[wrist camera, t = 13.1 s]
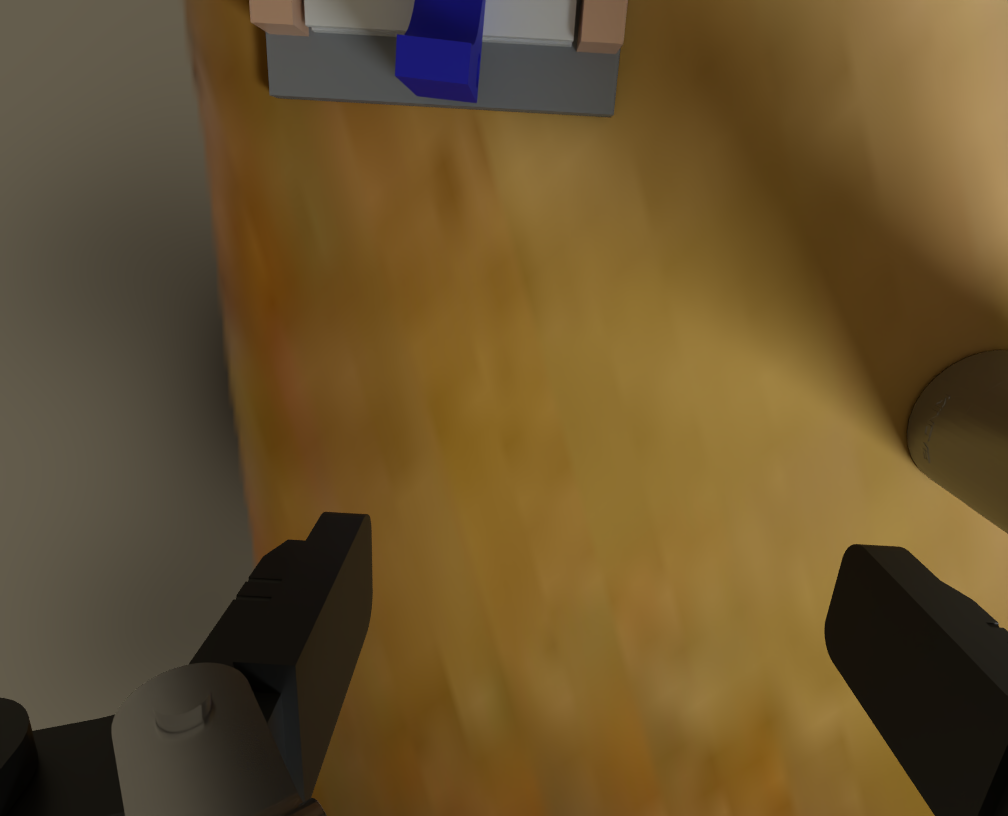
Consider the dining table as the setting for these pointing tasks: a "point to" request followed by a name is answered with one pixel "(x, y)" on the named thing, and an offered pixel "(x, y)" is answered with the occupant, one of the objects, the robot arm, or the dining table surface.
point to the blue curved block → (442, 49)
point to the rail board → (504, 56)
